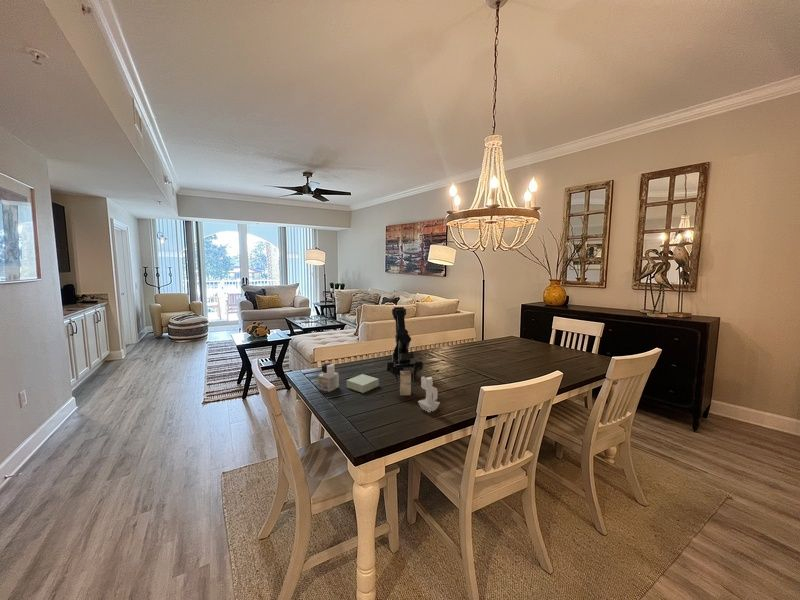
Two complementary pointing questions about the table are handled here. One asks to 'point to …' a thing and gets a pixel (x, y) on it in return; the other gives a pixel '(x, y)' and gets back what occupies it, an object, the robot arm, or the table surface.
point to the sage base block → (362, 383)
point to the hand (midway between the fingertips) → (405, 381)
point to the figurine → (429, 395)
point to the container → (328, 378)
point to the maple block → (405, 382)
